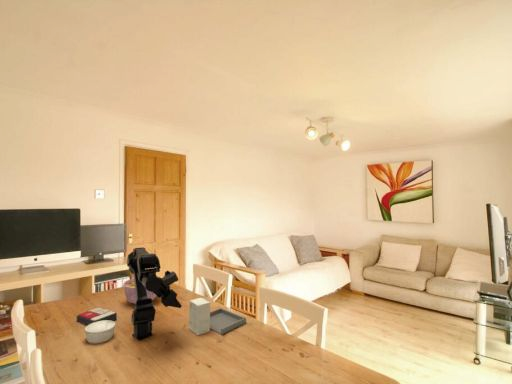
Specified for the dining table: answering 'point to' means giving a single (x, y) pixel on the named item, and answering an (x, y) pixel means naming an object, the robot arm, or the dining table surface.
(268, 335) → the dining table surface
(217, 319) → the tray
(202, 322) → the small box
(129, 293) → the bowl of food
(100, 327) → the ramekin
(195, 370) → the dining table surface
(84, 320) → the red and grey box
